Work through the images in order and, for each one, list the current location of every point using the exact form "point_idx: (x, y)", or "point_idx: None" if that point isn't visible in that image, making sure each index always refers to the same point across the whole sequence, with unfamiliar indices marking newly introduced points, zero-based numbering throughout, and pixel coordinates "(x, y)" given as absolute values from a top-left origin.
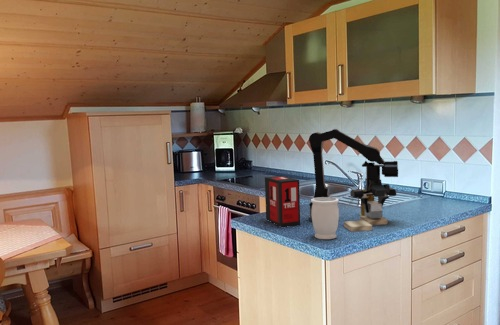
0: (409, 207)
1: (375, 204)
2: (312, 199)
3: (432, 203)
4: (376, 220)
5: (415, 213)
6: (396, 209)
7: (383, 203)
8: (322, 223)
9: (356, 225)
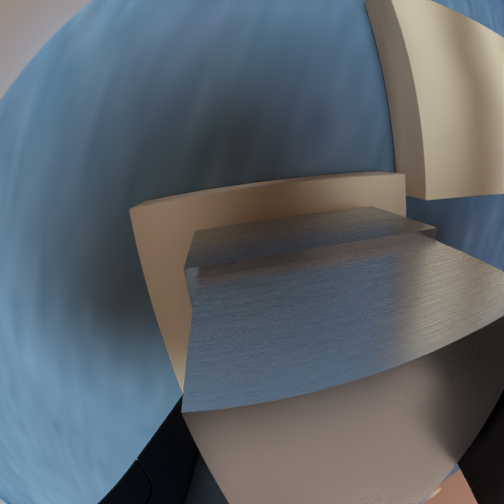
0: (52, 496)
1: (455, 335)
2: None
3: (7, 489)
4: (293, 183)
5: (3, 435)
6: (92, 500)
7: (119, 483)
8: None
9: (486, 48)
